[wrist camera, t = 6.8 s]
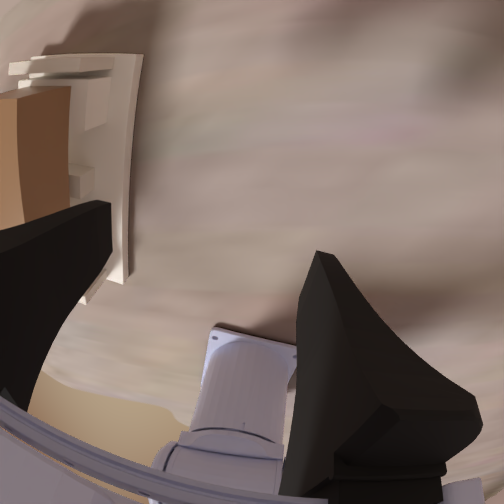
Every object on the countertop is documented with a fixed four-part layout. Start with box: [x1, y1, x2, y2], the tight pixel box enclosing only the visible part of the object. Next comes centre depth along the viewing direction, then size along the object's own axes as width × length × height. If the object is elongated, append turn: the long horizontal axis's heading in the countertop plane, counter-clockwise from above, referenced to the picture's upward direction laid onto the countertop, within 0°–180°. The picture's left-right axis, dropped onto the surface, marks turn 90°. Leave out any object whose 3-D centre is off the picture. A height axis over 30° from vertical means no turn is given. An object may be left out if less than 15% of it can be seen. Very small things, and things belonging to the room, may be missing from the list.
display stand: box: [9, 53, 144, 305], centre depth 19 cm, size 17×9×4 cm, turn 168°
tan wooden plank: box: [0, 86, 71, 230], centre depth 16 cm, size 13×4×4 cm, turn 168°
